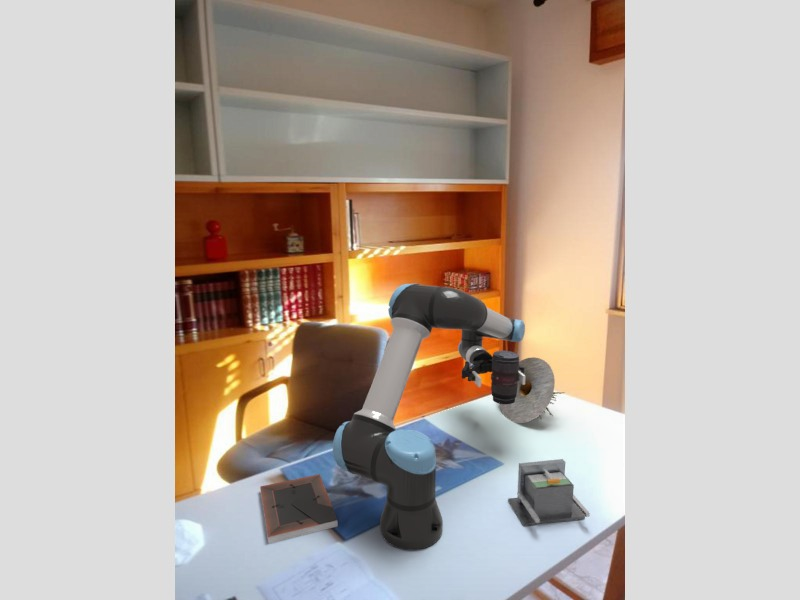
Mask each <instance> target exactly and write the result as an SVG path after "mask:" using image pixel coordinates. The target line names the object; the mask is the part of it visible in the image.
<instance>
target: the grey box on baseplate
mask: <svg viewBox="0 0 800 600" xmlns="http://www.w3.org/2000/svg"><path fill="white" fill-rule="evenodd" d="M550 474H551V476H552V477H553V478H554V479H558V478H559V479H560V483H559V484H550V485H548V484H547V480H549V479H548V478H547V477H546V475H545V474H536V475H526V476H525V487H524V497H525V498H526V500H527V501H528V503H529V504H530V506H531V507H532V509H533V510H534V512H535V513H536V514H537V516H538V517H539V519H540V523H536V522H535V521H534V519H533V518H532V516H531V515H530V513H529V512H528V510H527V509H526V507H525V506H524V504H523V503H519V502H518V500H517V497H511V498H510V497H509V498H507V503H508V504H509V505H510V506H511V508H512V511H514V513H515V515H516V516H517V518H518V520H519V522H520V523H521V524H522V526H523V527H531V526H538V525H548V524H555V523H563V522H572V521H580V520H585V519H586V517H585V515H584V514H583V513H582V512H581V511H580V509H579V508H578V507H577V506H576V505H575V503H574V502H573V494H574V488H575V487H574V486H575V485H574V484H573V483H572V482H571V480H570V479H569V478H568V477H567V476H566V474H565V475H564V474H563V473H562V472H555V473H550Z"/></svg>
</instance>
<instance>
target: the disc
mask: <svg viewBox="0 0 800 600" xmlns="http://www.w3.org/2000/svg"><path fill="white" fill-rule="evenodd" d="M519 366H521V367H524V375H525V385H522V384H521V383H520V382H519V381H518V383H517V384H518V388H517V396H516V398H515V402H514V403H512V404H499V407H500V411H501V413H502V414H503V415H504V417H505V418H506V419H508V420H509V421H511V422H513V423H516V424H524V423H528V422H530V421H533V420H535V419H536V418H539V417H540V419H542V413H544V414H546V411H547V412H548V414H549V415H550V416H552V417H553V416H554V415H553V413H552V412H551V411H550V409H549V407H548V406H549V405H550V404H552V405H554V404H555V403H554V402H556V401H557V398H556V397H558V395H557V394H559V395H561V394H565V393H566V392H565V391H563V392H559V391H557V392H556V391H554V390H555V374H554V370H553V369H552V367H551V366H550V364H549V363H548V362H547V361H545V360H544V359H542V358H539V357H527V358H524V359H521V360H519ZM552 401H554V402H552ZM545 410H546V411H545Z"/></svg>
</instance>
